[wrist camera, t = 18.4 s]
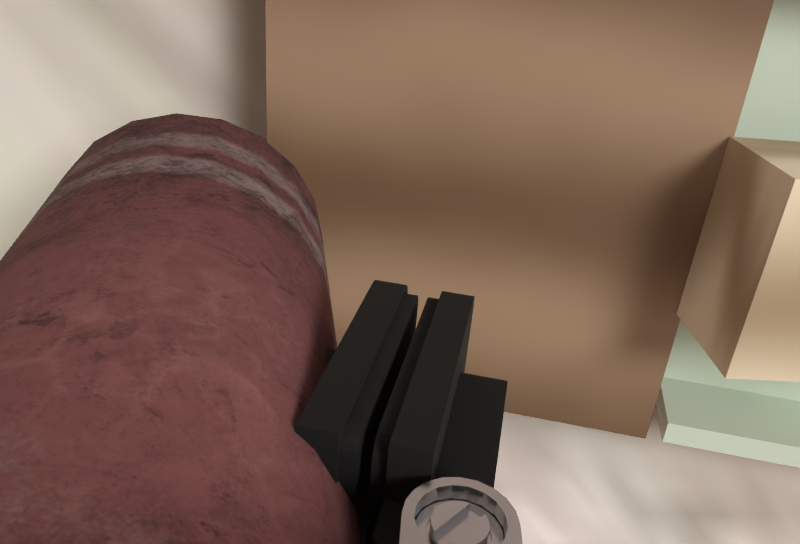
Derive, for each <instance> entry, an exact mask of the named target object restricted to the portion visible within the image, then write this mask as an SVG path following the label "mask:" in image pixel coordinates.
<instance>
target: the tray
mask: <svg viewBox="0 0 800 544" xmlns="http://www.w3.org/2000/svg"><path fill="white" fill-rule="evenodd" d="M734 137H743V138H757V139H770V140H784V141H798V142H800V0H774V3H773V6H772V9H771V13H770V16H769V20H768V23H767V26H766V30H765V33H764V37H763V40H762V43H761V47H760V50H759V54H758V57H757V60H756V64H755V67H754V71H753V74H752V77H751V81H750V84H749V88H748V91H747V94H746V98H745V101H744V105H743V108H742V111H741V115H740V118H739V122H738V125H737V128H736V132H735V135H734ZM656 408H657V413H658V419H659V425H660V430H661V436H662V442H667V443H672V444H677V445H683V446H688V447H693V448H698V449H704V450H709V451H714V452H719V453H725V454H730V455H735V456H740V457H746V458H751V459H756V460H761V461H767V462H772V463H777V464H782V465H788V466H793V467H798V468H800V382H792V381H770V380H748V379H726V378H725V377H724V376H723V375H722V374H721V372H720V371H719V370H718V368H717V367H716V366H715V364H714V363H713V362H712V360H711V359H710V358H709V356H708V355H707V354H706V352H705V351H704V350H703V348H702V347H701V346H700V344H699V343H698V342H697V340H696V339H695V338H694V336H693V335H692V334H691V332H690V331H689V330H688V328H687V327H686V326H685V324H684V323H683V322H682V320H681V319H680V322H679V326H678V329H677V333H676V336H675V339H674V343H673V346H672V350H671V353H670V356H669V360H668V363H667V367H666V370H665V373H664V377H663V380H662V384H661V387H660V390H659V394H658V397H657V401H656Z"/></svg>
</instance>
